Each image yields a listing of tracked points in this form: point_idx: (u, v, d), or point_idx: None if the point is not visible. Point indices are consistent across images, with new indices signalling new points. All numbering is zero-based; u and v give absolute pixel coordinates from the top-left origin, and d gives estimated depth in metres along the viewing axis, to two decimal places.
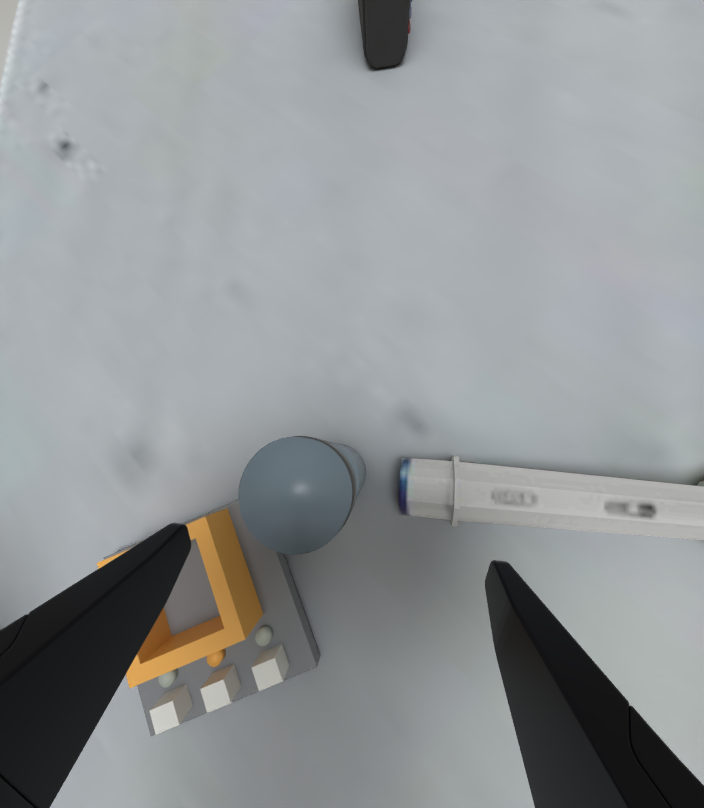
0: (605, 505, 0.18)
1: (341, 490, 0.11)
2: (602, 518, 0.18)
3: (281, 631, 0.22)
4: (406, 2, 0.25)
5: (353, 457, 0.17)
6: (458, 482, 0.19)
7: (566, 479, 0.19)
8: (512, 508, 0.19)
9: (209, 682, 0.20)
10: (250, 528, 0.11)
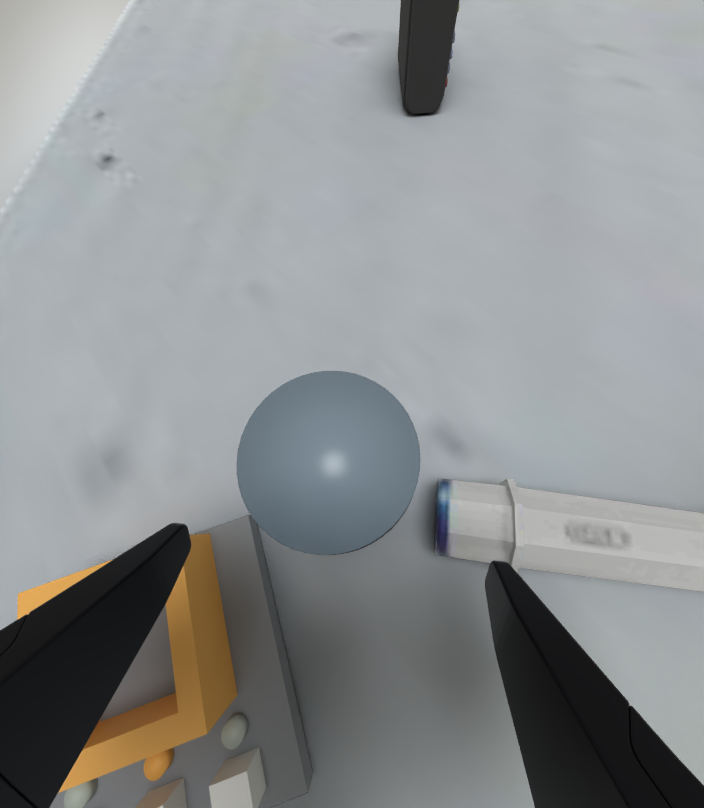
0: None
1: (404, 452, 0.07)
2: None
3: (260, 725, 0.15)
4: (447, 55, 0.27)
5: None
6: (519, 509, 0.15)
7: (663, 515, 0.14)
8: (596, 549, 0.14)
9: None
10: (250, 505, 0.07)
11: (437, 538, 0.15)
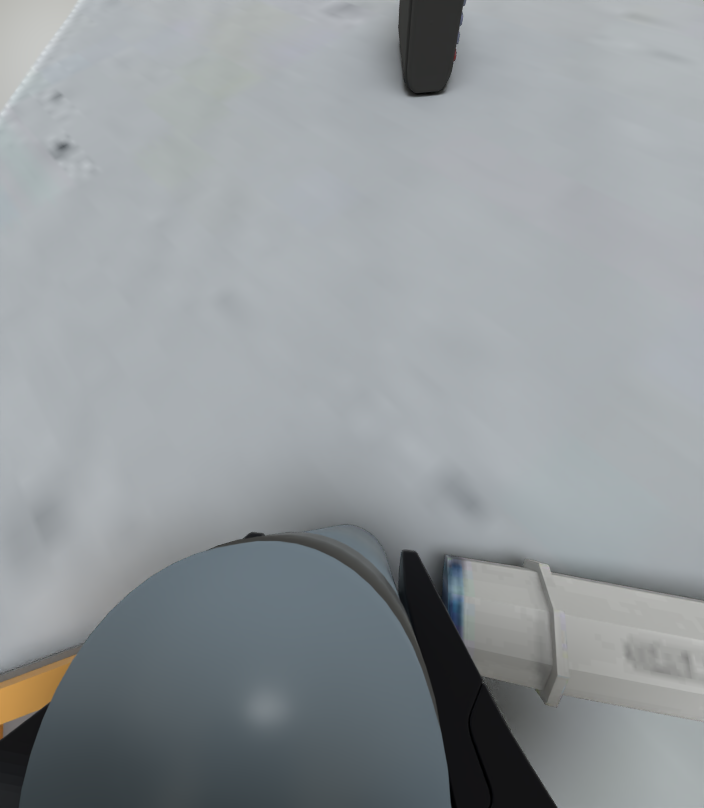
0: None
1: (412, 785, 0.03)
2: None
3: None
4: (457, 19, 0.23)
5: (386, 565, 0.09)
6: (561, 619, 0.11)
7: None
8: (671, 683, 0.10)
9: None
10: None
11: None
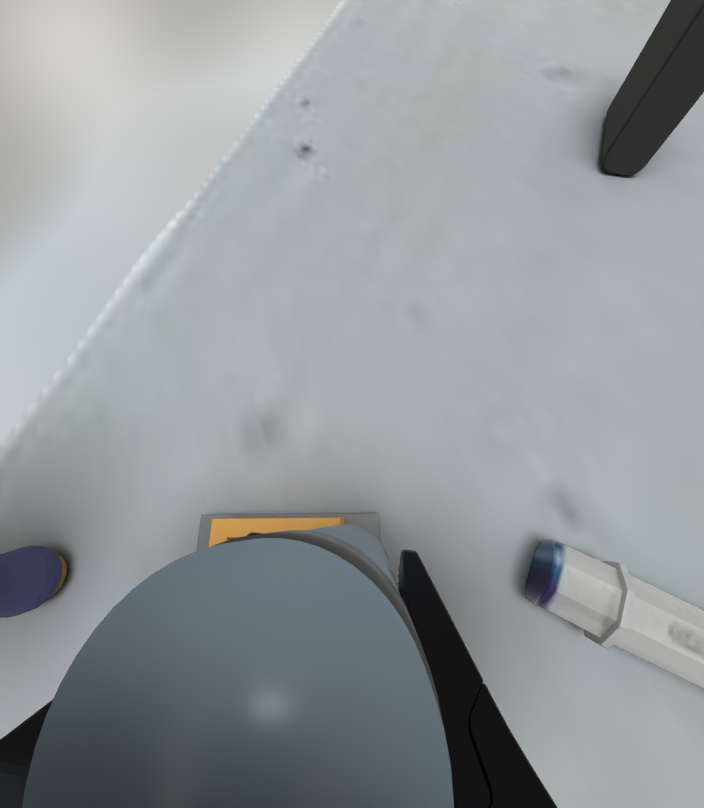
0: None
1: (415, 780, 0.03)
2: None
3: None
4: (672, 128, 0.26)
5: (387, 563, 0.09)
6: (631, 596, 0.16)
7: None
8: (695, 656, 0.15)
9: None
10: None
11: (542, 591, 0.18)
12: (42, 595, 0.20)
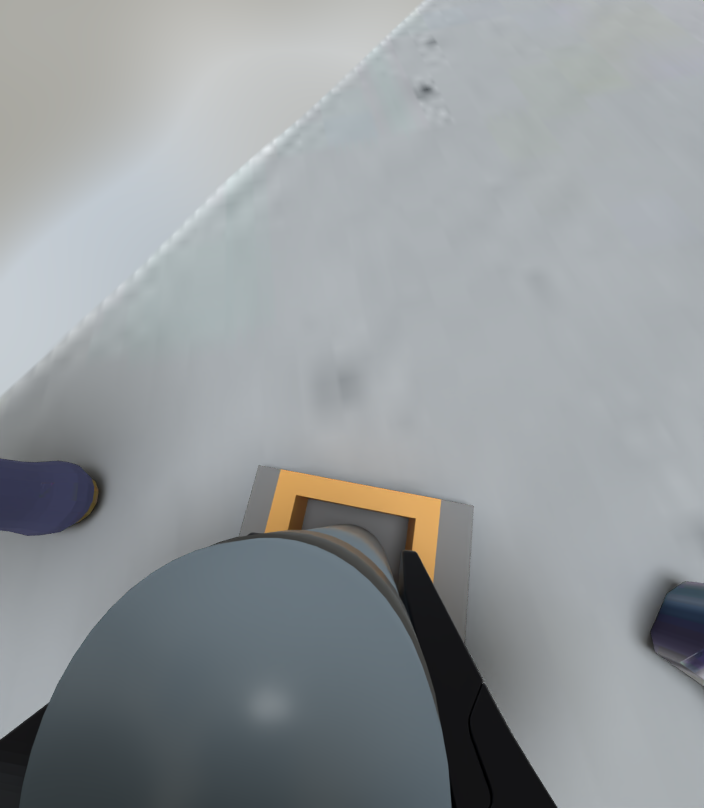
0: None
1: (413, 779, 0.03)
2: None
3: None
4: None
5: (386, 563, 0.09)
6: None
7: None
8: None
9: None
10: None
11: (700, 650, 0.13)
12: (68, 519, 0.17)
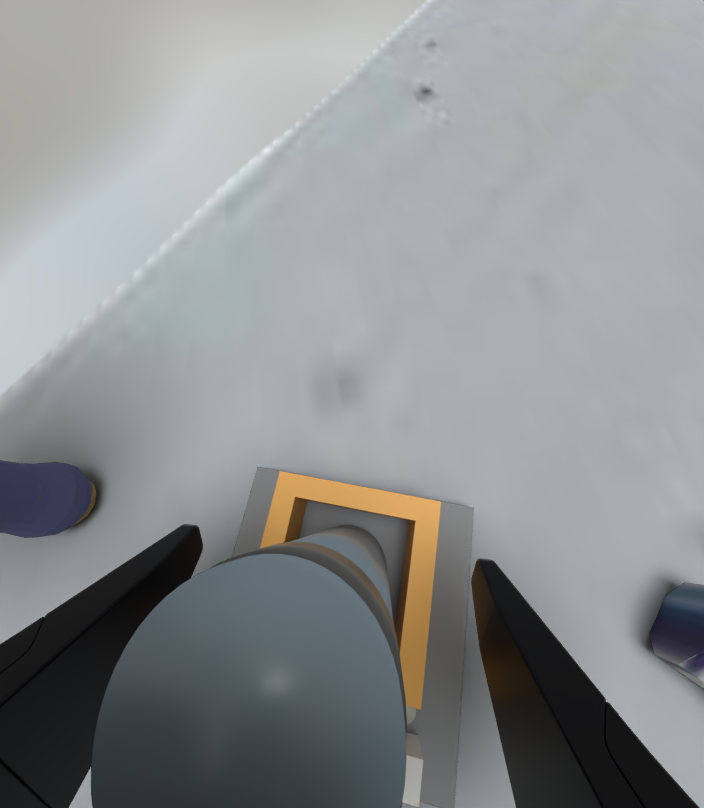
0: None
1: (379, 738, 0.04)
2: None
3: (425, 716, 0.14)
4: None
5: (379, 565, 0.10)
6: None
7: None
8: None
9: None
10: None
11: (699, 653, 0.13)
12: (66, 521, 0.17)
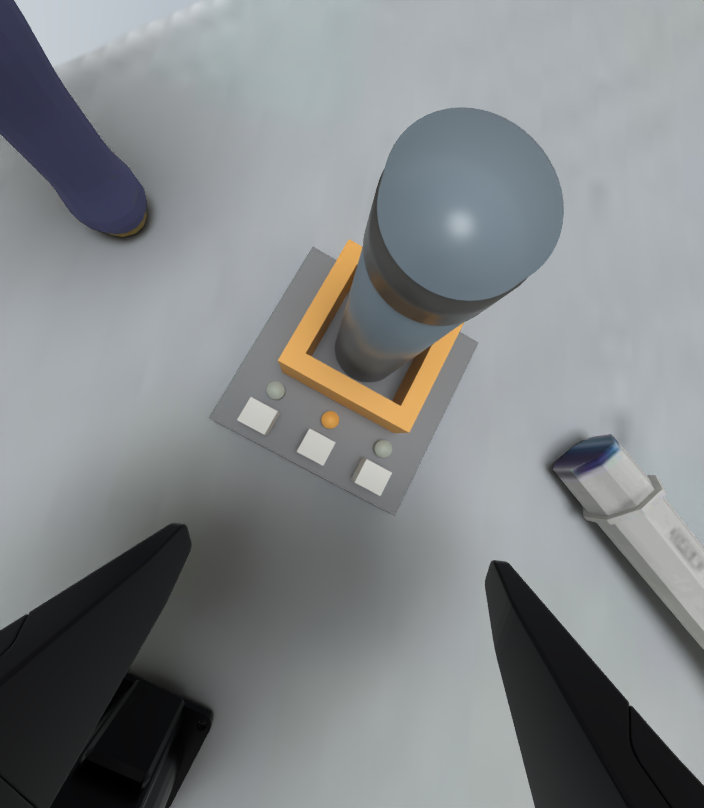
0: None
1: (547, 224, 0.07)
2: None
3: (394, 461, 0.19)
4: None
5: None
6: (661, 495, 0.18)
7: None
8: (679, 555, 0.18)
9: (316, 432, 0.18)
10: (392, 213, 0.06)
11: (587, 462, 0.19)
12: (123, 221, 0.18)
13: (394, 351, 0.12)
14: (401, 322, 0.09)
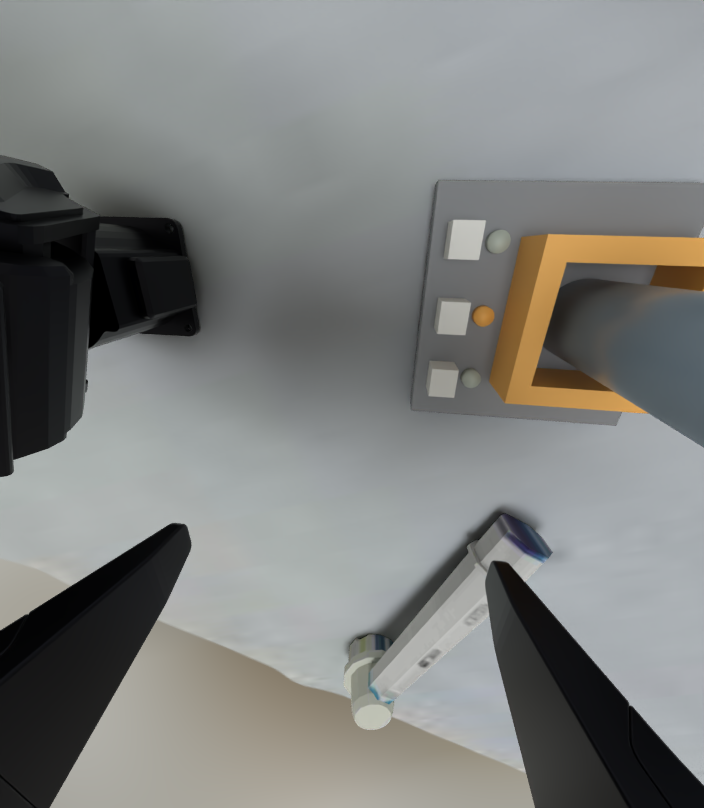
0: (438, 650, 0.25)
1: None
2: (432, 645, 0.25)
3: (461, 392, 0.19)
4: None
5: None
6: None
7: None
8: (470, 611, 0.23)
9: None
10: None
11: (522, 542, 0.21)
12: None
13: (626, 377, 0.11)
14: None
